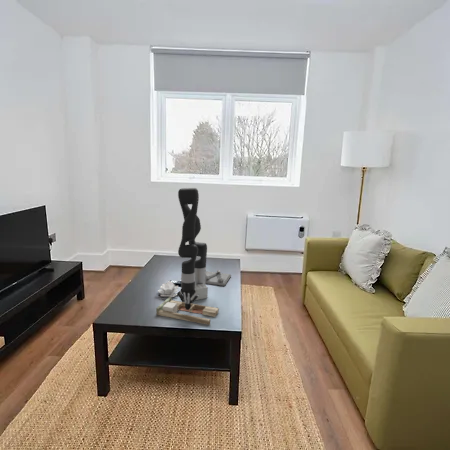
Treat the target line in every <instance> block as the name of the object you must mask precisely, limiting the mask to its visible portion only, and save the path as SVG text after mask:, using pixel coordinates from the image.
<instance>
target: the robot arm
mask: <svg viewBox="0 0 450 450" xmlns="http://www.w3.org/2000/svg"><path fill="white" fill-rule="evenodd" d="M199 194H200V193H199V190H198V188H196V187H183V188H179V189H178V192H177V197H178V201H179V206H180V208H181V213H182V216H183V223H182V226H181V227H182V229H181V230H182V231H181V234H182V235H181V240H180V243H179V247H178V250H177V251H178V252H177V253H178V256H179V258H182V259H183V258H184V259H185V258H187V260H185V261H182V262H181V277H180V281H181V282H180V291H179V290H178V291H177V292H176V294H177V295H176V296H178V298H179V299H180V302H185V308H186V310H189V309H190V308H191V303H192V304H194V302H195V301H197V300H196V299H197V297H198V296H199V294H196V293H195V292H196V291H195V285H197V284H204V285H206V286H207V284H206V271H207V257H208V256H207V255H208V253H207V252H208V245H207V243H205V242H197V241H196V237H198V235H199V234H200V232H201V230H202V225H201V220H200V217H199V216H198V208H199V200H200V199H199V197H200V195H199ZM189 205H191V208H190V206H189ZM187 243H188V244H187ZM198 257H199V259H197V258H198ZM189 258H190V259H189ZM193 295H194V299H193V300H191V299H192V296H193Z"/></svg>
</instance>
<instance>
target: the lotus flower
mask: <svg viewBox="0 0 450 450" xmlns="http://www.w3.org/2000/svg"><path fill="white" fill-rule="evenodd" d="M178 288H179V285H176V284H175V283H173V282H172V281H171V280H168V282H166V283H164V282H163V283H162V285H161V286H160V287H159V289H158V290H157V292H158V293H159V294H160V297H167V298H169V297H171V298H174V297H176V296H178V295H177V293H178V292H179V290H178Z"/></svg>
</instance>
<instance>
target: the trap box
mask: <svg viewBox="0 0 450 450" xmlns="http://www.w3.org/2000/svg"><path fill="white" fill-rule="evenodd" d="M167 302H171V303H177V311H184V312H188V313H194V314H199V315H203V316H209V317H213V318H215V317H216V316H217V315H218V314H219V312H220V311H219V309H220V308H219V307H214V306H208V305H202V304H197V303H191V308H190V309H189V310H186V308H185V302H182V301H181V300H173V297H167V298H166V299H165V300H164V301H163V302H162V303H161V304H159V305H158V306H157V307H156V308H155V309H156V312H155V314H156V315H157V316H161V317H167V318H172V319H177V320H183V321H187V322H193V323H198V324H201V325H209V326H210V325H211V318H206V317H205V318H204V317H200V316H195V315H189V314H184V313H179V312H176V313H174V312H169V311H163V306H164V305H165V304H166V303H167Z"/></svg>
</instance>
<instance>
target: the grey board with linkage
mask: <svg viewBox="0 0 450 450" xmlns="http://www.w3.org/2000/svg"><path fill="white" fill-rule="evenodd" d="M231 276H232V275H231V274H230V273H224V272H221V270H220V269H217V270H216V271H214V272H213V271H207V270H206V285H214V286H220V287H224V286H225V285H226V284H227V283H228V281H229V279H230V278H231Z"/></svg>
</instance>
